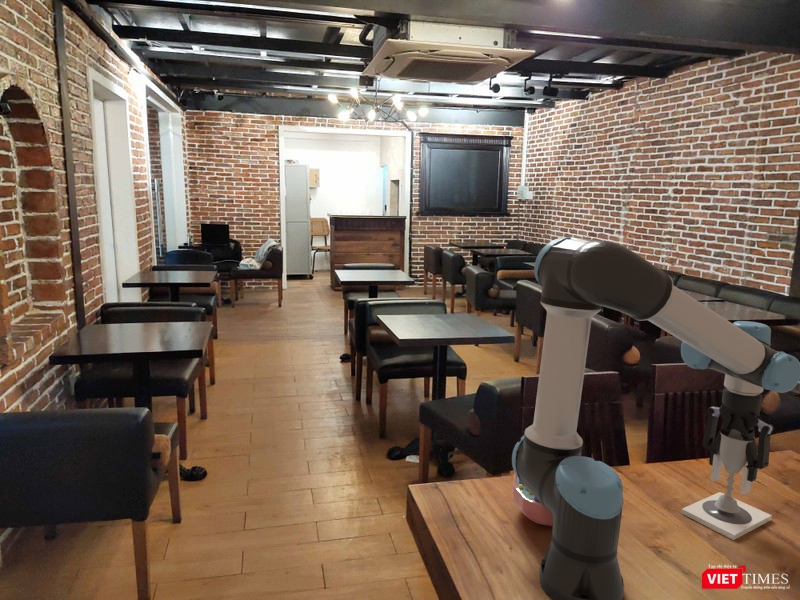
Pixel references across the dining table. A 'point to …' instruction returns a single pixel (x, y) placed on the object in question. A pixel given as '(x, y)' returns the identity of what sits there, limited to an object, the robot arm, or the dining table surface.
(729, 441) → the chalice
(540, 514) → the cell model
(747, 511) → the serving tile
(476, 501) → the dining table surface
